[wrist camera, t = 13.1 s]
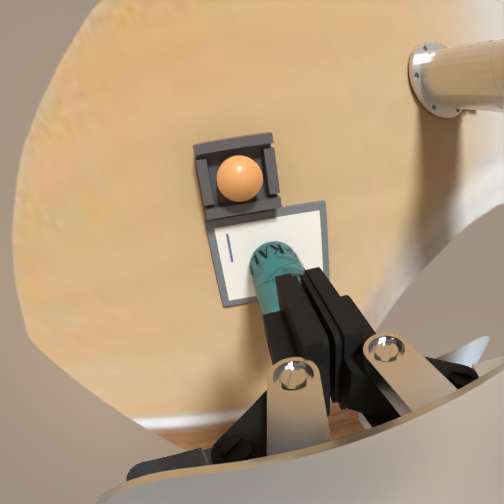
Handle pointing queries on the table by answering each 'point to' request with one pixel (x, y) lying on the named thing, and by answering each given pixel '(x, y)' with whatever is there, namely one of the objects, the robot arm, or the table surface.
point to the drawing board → (258, 233)
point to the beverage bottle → (272, 272)
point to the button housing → (221, 149)
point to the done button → (239, 178)
